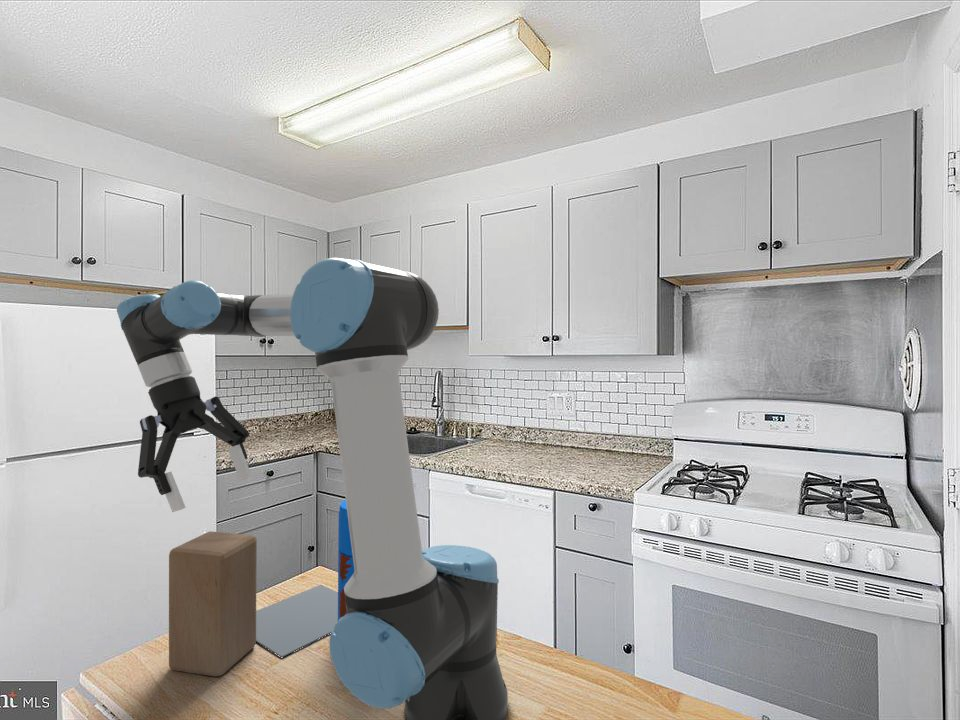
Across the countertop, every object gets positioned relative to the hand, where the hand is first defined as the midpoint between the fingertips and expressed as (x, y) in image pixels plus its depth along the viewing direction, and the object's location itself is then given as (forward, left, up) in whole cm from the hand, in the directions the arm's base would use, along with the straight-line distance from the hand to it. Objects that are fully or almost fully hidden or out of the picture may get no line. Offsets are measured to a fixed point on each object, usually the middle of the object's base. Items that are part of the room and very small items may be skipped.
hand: (214, 493), depth 95 cm
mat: (-5, -15, -27) cm, 31 cm away
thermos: (-21, -17, -27) cm, 38 cm away
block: (-5, +3, -27) cm, 27 cm away
